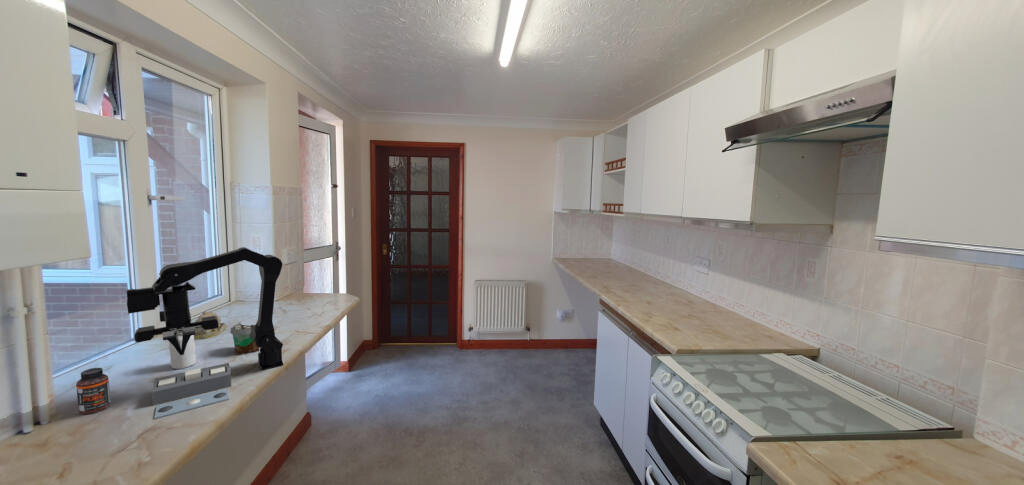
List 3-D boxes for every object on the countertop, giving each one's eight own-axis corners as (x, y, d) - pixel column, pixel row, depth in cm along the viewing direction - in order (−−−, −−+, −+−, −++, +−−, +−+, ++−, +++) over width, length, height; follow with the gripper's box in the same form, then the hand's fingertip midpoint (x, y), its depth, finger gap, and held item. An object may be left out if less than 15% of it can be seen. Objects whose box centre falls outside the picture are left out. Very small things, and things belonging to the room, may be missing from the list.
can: (181, 370, 126) (178, 337, 124) (166, 368, 127) (163, 335, 125) (200, 362, 132) (198, 330, 130) (186, 360, 133) (183, 328, 132)
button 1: (175, 383, 113) (175, 377, 113) (175, 388, 110) (174, 381, 110) (159, 387, 111) (159, 380, 111) (158, 392, 108) (158, 385, 108)
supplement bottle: (81, 417, 99) (77, 378, 97) (76, 410, 102) (72, 371, 100) (113, 407, 104) (109, 369, 102) (108, 400, 107) (104, 363, 105)
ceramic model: (208, 340, 151) (206, 317, 150) (179, 340, 151) (177, 317, 149) (231, 328, 165) (230, 306, 164) (205, 328, 164) (203, 306, 163)
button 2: (225, 372, 121) (224, 366, 121) (225, 376, 118) (225, 370, 118) (211, 375, 118) (210, 369, 118) (211, 380, 116) (210, 374, 116)
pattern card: (227, 389, 115) (227, 388, 114) (229, 399, 109) (229, 398, 109) (156, 407, 104) (156, 405, 104) (154, 419, 99) (154, 417, 99)
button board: (229, 374, 124) (228, 362, 124) (231, 386, 117) (230, 374, 116) (155, 390, 113) (154, 378, 112) (152, 405, 105) (151, 392, 105)
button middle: (201, 373, 117) (200, 368, 117) (201, 378, 114) (200, 372, 114) (185, 377, 114) (185, 371, 114) (185, 381, 112) (185, 375, 112)
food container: (224, 351, 141) (222, 326, 140) (240, 345, 147) (239, 321, 146) (244, 357, 137) (243, 331, 136) (261, 351, 142) (260, 326, 141)
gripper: (214, 294, 124) (218, 339, 126) (135, 305, 112) (142, 354, 114) (216, 302, 115) (220, 349, 117) (131, 315, 103) (138, 367, 105)
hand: (181, 354), depth 114 cm, fingers closed
